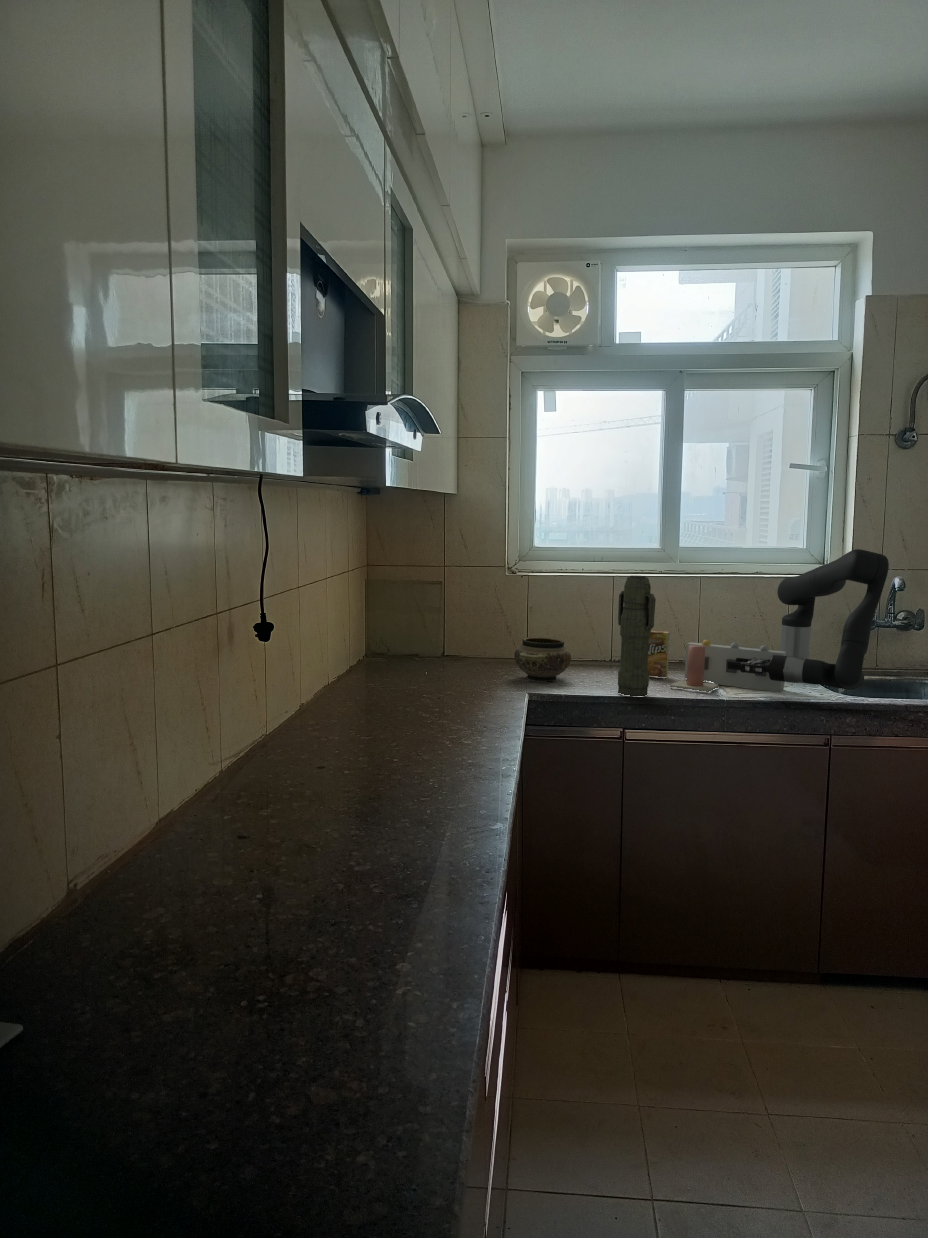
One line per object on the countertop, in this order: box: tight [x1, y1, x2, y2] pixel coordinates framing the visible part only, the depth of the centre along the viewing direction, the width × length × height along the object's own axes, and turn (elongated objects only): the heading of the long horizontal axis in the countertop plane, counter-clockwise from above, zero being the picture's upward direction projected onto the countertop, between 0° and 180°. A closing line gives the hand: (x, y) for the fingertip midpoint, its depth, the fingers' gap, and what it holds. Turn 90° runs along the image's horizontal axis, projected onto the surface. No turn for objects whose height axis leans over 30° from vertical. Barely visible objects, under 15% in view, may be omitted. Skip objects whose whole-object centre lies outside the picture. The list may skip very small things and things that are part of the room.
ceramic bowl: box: [513, 636, 572, 683], centre depth 275 cm, size 24×18×15 cm
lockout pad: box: [669, 679, 720, 692], centre depth 266 cm, size 10×12×1 cm
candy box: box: [648, 630, 671, 678], centre depth 283 cm, size 9×4×15 cm, turn 70°
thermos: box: [617, 575, 657, 697], centre depth 254 cm, size 9×12×35 cm
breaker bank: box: [684, 639, 786, 693], centre depth 272 cm, size 6×30×14 cm, turn 57°
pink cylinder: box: [687, 645, 706, 686], centre depth 265 cm, size 5×5×12 cm
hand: (731, 663), depth 259 cm, fingers open, 8 cm apart
